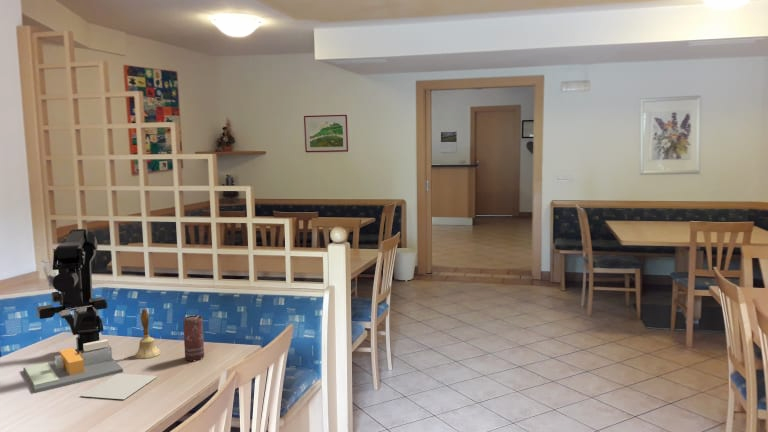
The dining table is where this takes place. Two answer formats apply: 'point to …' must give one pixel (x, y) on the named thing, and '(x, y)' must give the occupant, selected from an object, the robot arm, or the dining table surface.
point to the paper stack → (119, 386)
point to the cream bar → (95, 345)
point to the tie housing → (88, 357)
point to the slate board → (78, 375)
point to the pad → (41, 374)
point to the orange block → (72, 361)
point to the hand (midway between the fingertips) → (74, 334)
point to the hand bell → (146, 340)
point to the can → (193, 337)
